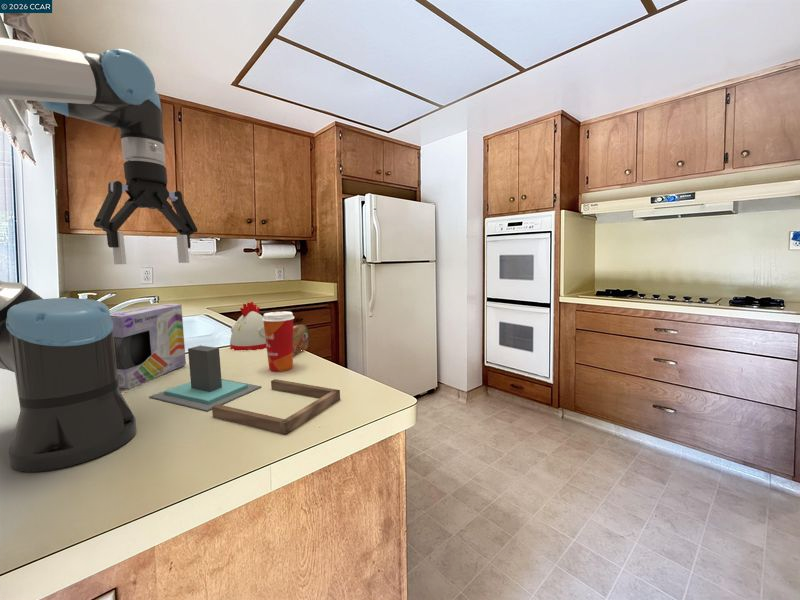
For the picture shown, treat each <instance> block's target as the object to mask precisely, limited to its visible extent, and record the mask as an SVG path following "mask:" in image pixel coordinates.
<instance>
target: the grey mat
mask: <svg viewBox="0 0 800 600" xmlns="http://www.w3.org/2000/svg"><path fill="white" fill-rule="evenodd" d="M221 380H225V381H231V382H236V383H242V384H247V385H248V388H247V389H244V390H242V391H240V392H237V393H235V394H233V395H230V396H228V397H226V398H223V399H221V400H219V401H216V402H214V403H212V404H209V405H208V404H204V403H199V402H195V401H191V400H186V399H182V398H177V397H173V396H169V395H164V391H161V392H158V393H155V394H153V395H149V399H153V400H157V401H161V402H166V403H170V404H175V405H178V406H182V407H187V408H191V409H194V410H195V409H196V410H199V411H204V412H209V411H212V406H214V405H217V404H219V405H223V406H224V405H225V404H228V403H230V402H232V401H235V400H236V398H237V399H239V398H241V397H243V396H245V394H246V395H248V394H250V393H253V392H255V391H257V390H259V389H262V386H261V385H257V384H253V383H252V384H251V383H247V382H240V381H235V380H229V379H223V378H221ZM247 393H248V394H247ZM238 397H239V398H238Z"/></svg>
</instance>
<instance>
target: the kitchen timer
mask: <svg viewBox="0 0 800 600" xmlns="http://www.w3.org/2000/svg"><path fill="white" fill-rule="evenodd" d="M242 304H243V305H242V307H240V308H239V310H240V312H241V314H242V315H241V316H239V318H238V319H237V320H236V322H235V324H234V325H233V326H231V329H230V330H231V331H230V332H231V336H230V341H229V345H230V346H229V347H230V349H231V350H232V349H234V350H233V351H236V350H253V351H258V350H257V349H260V350H263V349H264V348H265V349H267V347H266V338H265V330H264V322H263V320H262V319H263V315H262V314H260V313H259V312H260V308H261V307H260V306H257V304H254V302H253V301H249V302H247V303H242ZM265 349H264V350H265Z"/></svg>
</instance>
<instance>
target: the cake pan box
mask: <svg viewBox="0 0 800 600" xmlns="http://www.w3.org/2000/svg"><path fill="white" fill-rule="evenodd" d="M110 315H111V319H112V321H113V326H114V327H113V335H114V345H115V355H116V365H117V375H118V385H119V389H120V390H121V389H124V390H130V389H132V388H134V386H135V387H136V386H139V385H141V384H144V383H146V381H147V382H149V381H151V380H153V378H154V379H156V378H158V377H160V376H163V375H164V374H167V373H170V372H172V371H175V370H176V369H179V368H181V367H184V366H186V364H187V360H186V349H185V348H186V347H185V334H184V333H185V332H184V323H183V322H184V321H183V320H184V319H183V307H182V304H180V303H165V304H160V305H153V306H144V307H139V308H133V309H129V310H124V311H121V312H119V311H118V312H112V313H110Z"/></svg>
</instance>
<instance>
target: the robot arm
mask: <svg viewBox="0 0 800 600" xmlns="http://www.w3.org/2000/svg"><path fill="white" fill-rule="evenodd" d="M0 99H5V100H21V101H34V102H35V101H36V102H39V103H40V105H42V107H43V108H44V109H46V110H48V111H51V112H54V113H58V114H59V115H60V114H61V115H63V116H66V117H68V118H69V117H71V118H75V119H78V120H83V121H86V122H90V123H93V124H94V123H95V124H98V125H102V126H107V127H110V128H114V129H119V134H120V142H121V154H122V155H121V156H122V159H123V160H124V161H125V162H124V163H123V173H124V174H123V175H124V179H125V181H126V182H125V183H122V182H121V181H119V180H116V181H115V180H114V181H111V182H108V185H107V186H108V187H107V189H108V190H107V195H106V196H105V198H104V200H103V203H102V205H101V207H100V209H99V211H98V213H97V215H96V218H95V219H94V221H93V226H94V227H95V228H98V229H102V230H103V232H105V233H106V240H107V246H108V247H109V248H111V249H112V253H113V254H112V255H113V262H114V265H127V258H126V248H125V238H124V237H125V236H124V231H118V230H119V229H120V228H121V227H122V226H123V225H124V223H126V221H127V220H128V219H129V218H130V217H131V215H133V213H134V212H135V211H136V210H137V209H138V208H140V209H141V208H142V209H144V208H145V209H146V208H147V209H151V210H157V211H159V212H160V213H161V214H162V215H163V216H164V217H165V218H166V219H167V220H168V222H169V223H170V224H171V225H172V227H173V228H174V229H175V230H176V232H178V233H179V234H176V235H175V236H176V245H177V247H176V248H177V257H178V258H177V259H178V264H179V263H180V264H181V263H182V264H187V263H188V264H189V263H190V256H189V255H190V254H189V249H191V235H193V234H194V233H197V232H198V227H197V225H196V223H195V222H194V219H193V217H192V216H191V214H190V213H189V212H190V211H189V210H188V208H187V206H186V204H185V202H184V200H183V195H182V192H181V190H175V191H169V190H168V187H167V185H168V174H167V173H168V172H167V167H166V166H165V164H166V163H167V162H166V152H165V142H164V140H165V139H164V128H163V127H164V126H163V117H162V116H163V111H162V105H161V100H160V96H159V93H158V92H157V90H156V83H155V78H154V74H153V73H152V70H151V69H150V67H149V66H148V64H147V63H146V62H145V61H144V60H143V59H142V58H141V57H140V56H138V55H137V54H136V53H134V52H132V51H131V50H128V49H124V48H114V49H108V50H105V51H103V53H100V52H99V53H98V52H92V51H87V50H80V49H79V50H78V49H73V48H72V49H71V48H65V47H60V46H53V45H50V44H49V45H48V44H42V43H38V42H30V41H25V40H21V39H20V40H19V39H14V38H9V37H2V36H0ZM124 193H125V194H127V195H128V199H127V200H126V201H125V202H124V204H123V206H122V207H121V208H120V209H119V210H118V211H117V212H116V213H115V214H114V212H115V210H116V208H117V206H118V204H119V202H120V200H121V198H122V194H124ZM168 200H169V201H170V202H171V204H170V202H169V201H168ZM173 208H174V209H173ZM113 215H114V216H113ZM110 314H111V311H110V308H109V307H108V306H107V305H106V304H105V303H104V302H101V301H99V300H95V299H90V298H75V297H54V298H43V297H42V296H40V295H38V294H37V293H36V292H35V291H34V290H32V289H30V288H29V287H28V286H26V285H25V284H24V283H22V282H9V281H2V280H1V279H0V369H1V370H7V371H9V372H13V373H14V375H15V382H16V388H17V395H18V402H19V409H20V410H19V413H18V418H17V422H16V425H15V428H14V432H13V435H12V439H11V440H10V444H9V449H8V455H9V457H8V458H9V462H10V463H9V464H10V467H11V468H12V469H14V470H15V471H20V472H24V473H25V472H26V473H27V472H29V473H30V472H32V473H35V472H46V471H52V470H57V469H63V468H68V467H72V466H75V465H78V464H82V463H85V462H89V461H90V460H94V459H97V458H99V457H102V456H104V455H107V454H109V453H111V452H113V451H115V450H117V449H119V448H121V447H122V446H123V445H125V444H127V443H128V442H129V441H131V440H132V439H133V438H134V437H135V435H136V434H137V431H138V430H137V424H136V423H137V422H136V417H135V415H134V414H133V412H132V410H131V408H130V406H129V405H128V403H127V401H126V399H125V397H124V396H123V394H122V393H121V389H120V388H119V385H118V375H117V365H116V355H115V345H114V335H113V327H114V326H113V321H112V319H111V315H110Z"/></svg>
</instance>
